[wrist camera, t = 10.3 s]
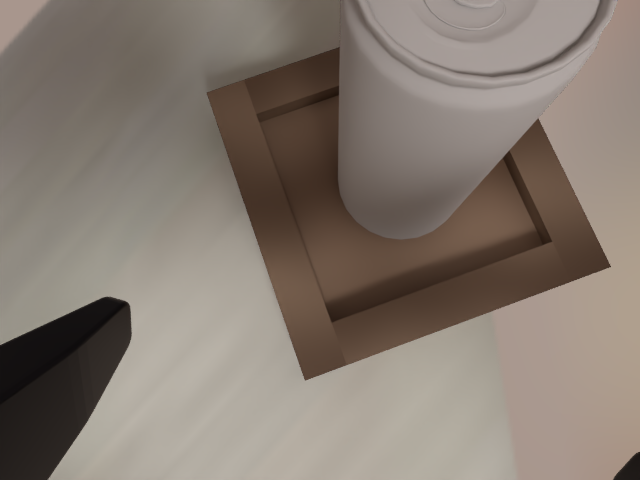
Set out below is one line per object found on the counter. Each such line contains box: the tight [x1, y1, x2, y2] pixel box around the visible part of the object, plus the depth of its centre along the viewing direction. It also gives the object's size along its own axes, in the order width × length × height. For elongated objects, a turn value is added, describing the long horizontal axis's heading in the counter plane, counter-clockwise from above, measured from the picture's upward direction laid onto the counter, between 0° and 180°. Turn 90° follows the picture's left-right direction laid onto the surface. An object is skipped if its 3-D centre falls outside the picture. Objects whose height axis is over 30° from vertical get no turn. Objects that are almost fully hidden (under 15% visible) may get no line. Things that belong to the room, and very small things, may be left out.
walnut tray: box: [207, 47, 611, 380], centre depth 20 cm, size 12×12×2 cm
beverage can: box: [338, 0, 618, 240], centre depth 14 cm, size 5×5×12 cm
